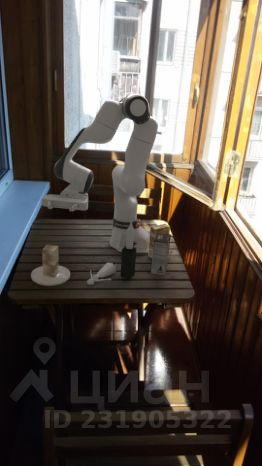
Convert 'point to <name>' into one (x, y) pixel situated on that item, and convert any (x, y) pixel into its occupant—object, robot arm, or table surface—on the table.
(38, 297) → the table surface
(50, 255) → the maple block
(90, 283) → the woman figurine
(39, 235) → the table surface
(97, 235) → the table surface
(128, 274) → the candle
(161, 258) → the coffee box
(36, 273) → the plate
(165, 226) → the candy box
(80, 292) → the table surface
